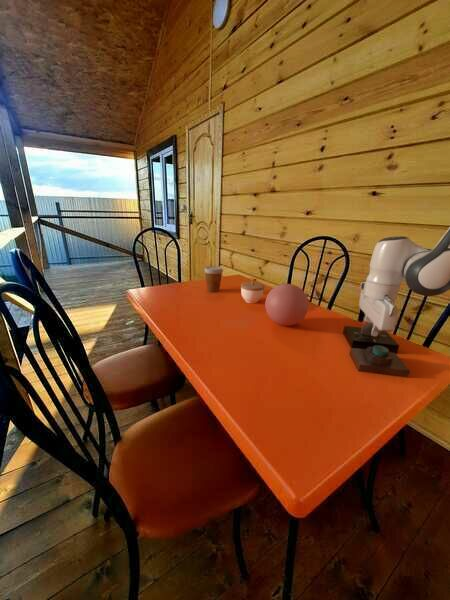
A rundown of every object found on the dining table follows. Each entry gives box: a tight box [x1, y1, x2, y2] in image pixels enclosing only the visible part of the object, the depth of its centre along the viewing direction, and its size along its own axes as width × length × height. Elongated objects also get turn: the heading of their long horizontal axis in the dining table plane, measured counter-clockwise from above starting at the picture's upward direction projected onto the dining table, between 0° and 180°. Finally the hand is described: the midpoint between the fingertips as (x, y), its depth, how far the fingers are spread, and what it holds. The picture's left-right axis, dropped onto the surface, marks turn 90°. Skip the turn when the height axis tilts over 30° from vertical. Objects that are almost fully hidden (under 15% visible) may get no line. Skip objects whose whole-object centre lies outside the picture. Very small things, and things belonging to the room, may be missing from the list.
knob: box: [360, 320, 381, 337], centre depth 82 cm, size 6×2×4 cm, turn 79°
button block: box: [349, 347, 411, 379], centre depth 70 cm, size 12×9×4 cm
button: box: [372, 345, 388, 357], centre depth 70 cm, size 4×4×2 cm
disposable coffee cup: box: [203, 265, 224, 293], centre depth 131 cm, size 10×10×12 cm
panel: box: [342, 325, 400, 355], centre depth 83 cm, size 13×11×3 cm
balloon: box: [264, 283, 310, 327], centre depth 94 cm, size 15×20×15 cm
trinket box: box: [240, 280, 265, 304], centre depth 117 cm, size 11×11×9 cm
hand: (370, 331), depth 82 cm, fingers open, 4 cm apart
